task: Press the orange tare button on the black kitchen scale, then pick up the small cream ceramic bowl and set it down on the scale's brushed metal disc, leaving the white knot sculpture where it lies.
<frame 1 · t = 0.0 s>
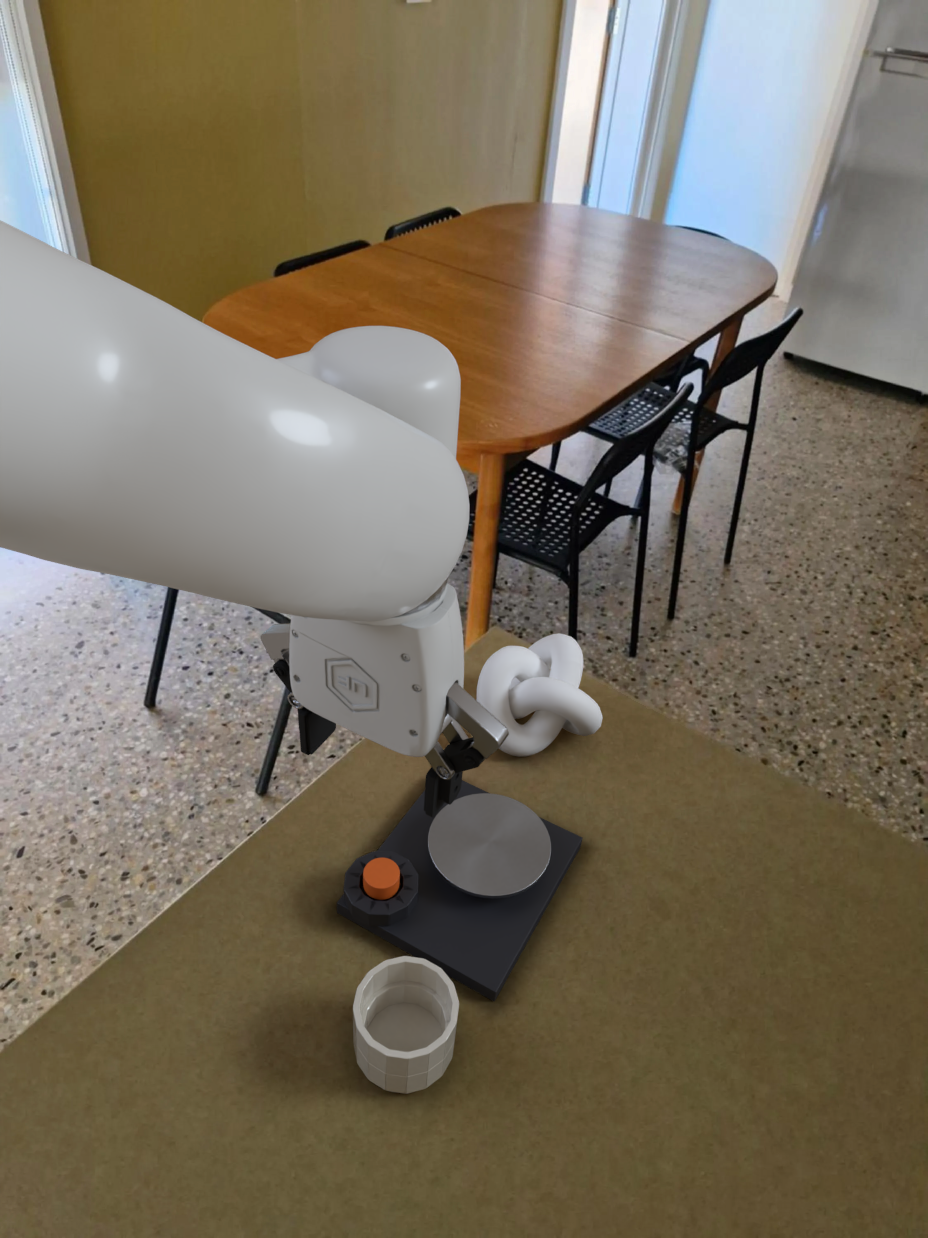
hand: (377, 770, 59), 17 cm above the counter, tool pointing down, fingers open, 9 cm apart
scale: (464, 878, 73), on the counter
white knot sculpture: (526, 731, 86), on the counter
tare button: (381, 878, 68), point 3 cm above the counter, slide at 0.1 cm
brushed metal disc: (486, 866, 74), resting on scale
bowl: (404, 1044, 62), on the counter
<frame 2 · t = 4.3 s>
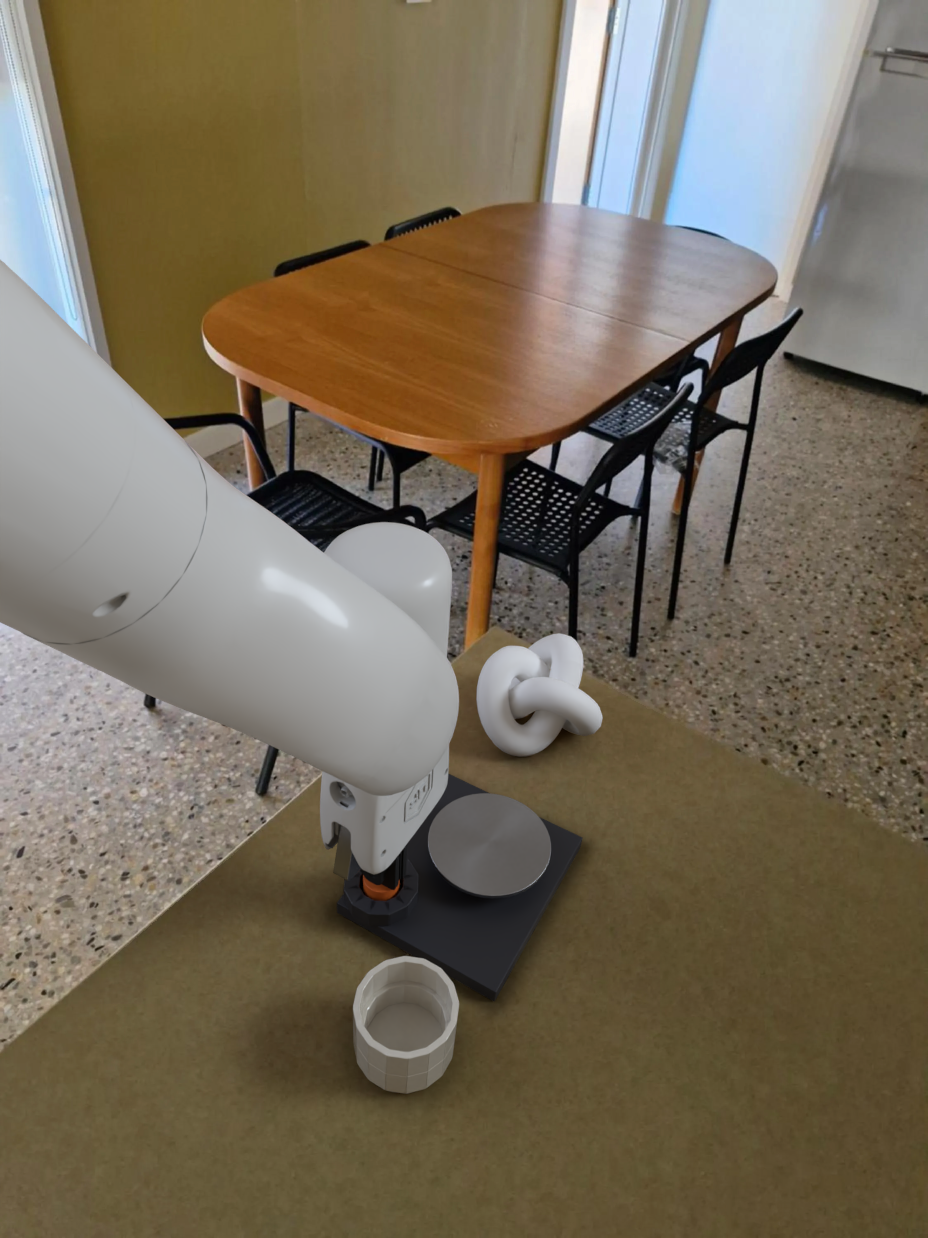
hand: (382, 874, 68), 4 cm above the counter, tool pointing down, fingers closed
tare button: (381, 882, 69), point 3 cm above the counter, slide at -0.3 cm, touching gripper
everything else where it was.
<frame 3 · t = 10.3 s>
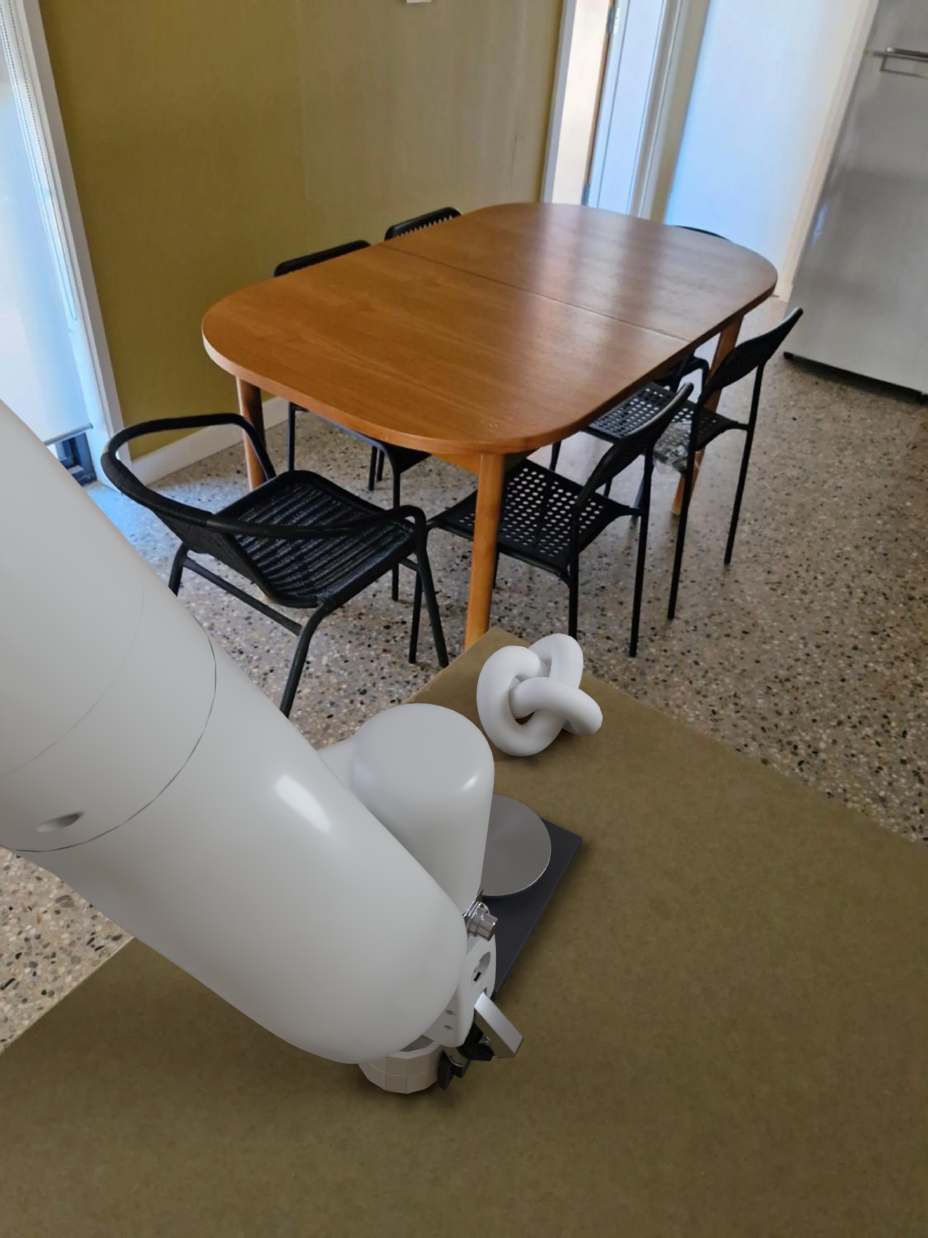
hand: (404, 1039, 62), 1 cm above the counter, tool pointing down, fingers closed on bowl, 7 cm apart
tare button: (381, 878, 68), point 3 cm above the counter, slide at 0.1 cm
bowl: (404, 1045, 62), on the counter, touching gripper
everything else where it was.
when the fingers open (4 cm above the counter, at t = 16.5 s): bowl stays where it is, resting on brushed metal disc.
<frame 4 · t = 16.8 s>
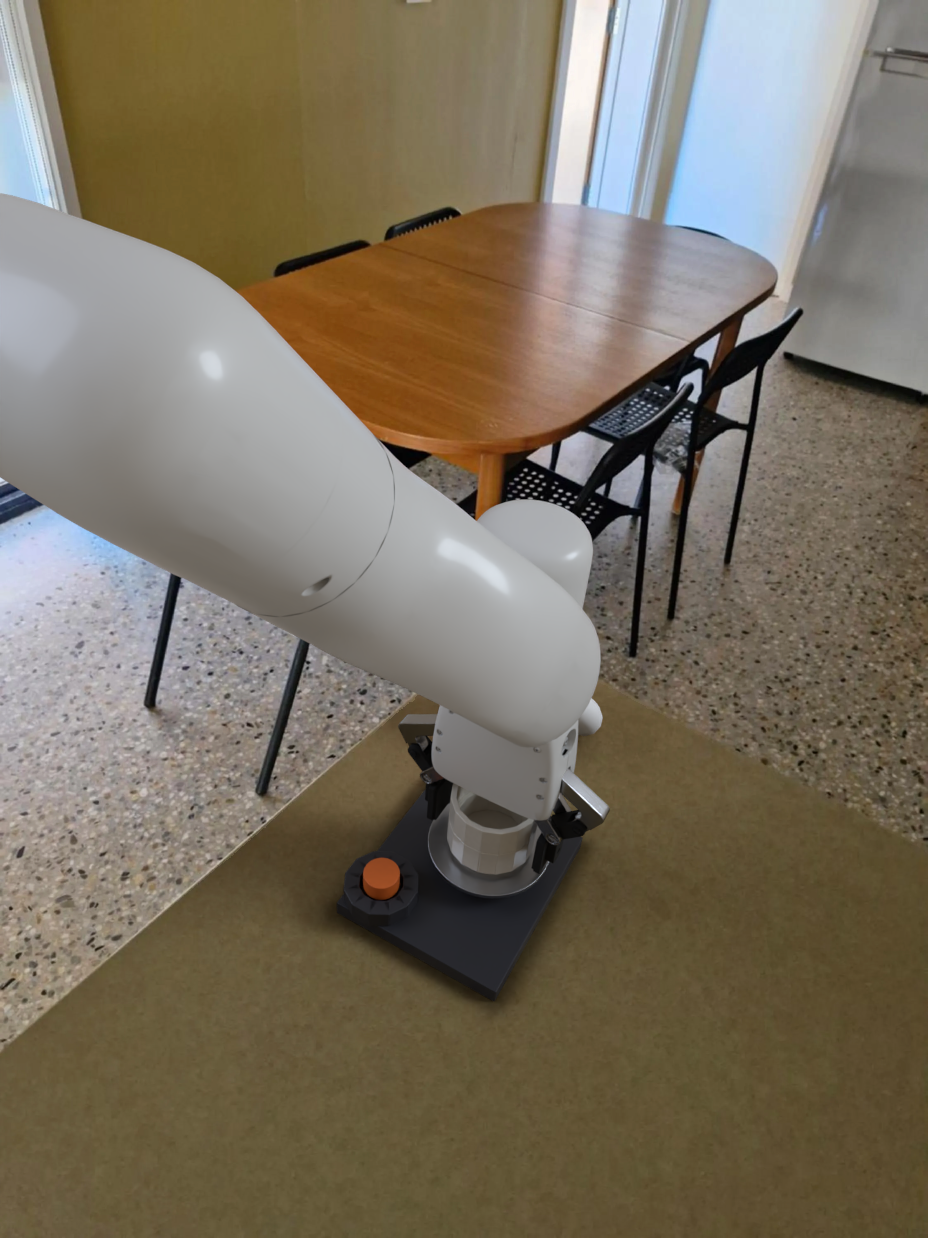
hand: (490, 833, 71), 5 cm above the counter, tool pointing down, fingers open, 9 cm apart
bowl: (489, 841, 72), point 3 cm above the counter, touching brushed metal disc
everything else where it was.
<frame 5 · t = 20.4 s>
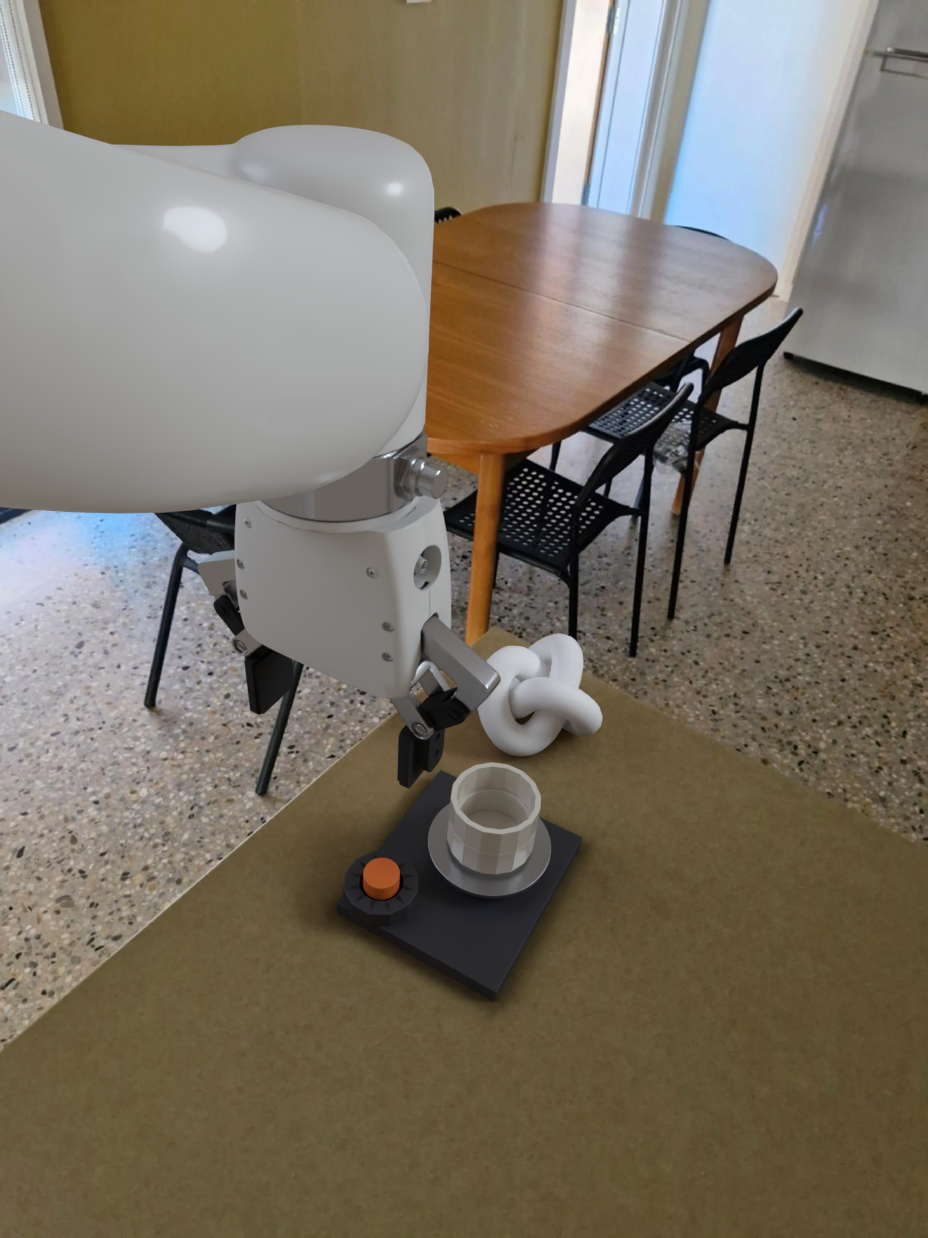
hand: (343, 733, 49), 26 cm above the counter, tool pointing down, fingers open, 9 cm apart
nothing on the counter moved.
at the end: tare button pushed in 0.9 cm at the most during the clip, back to where it started at the end; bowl 0.0 cm off-centre on the brushed metal disc, point 3.4 cm above the brushed metal disc's base; white knot sculpture moved 0.2 cm from its start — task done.
